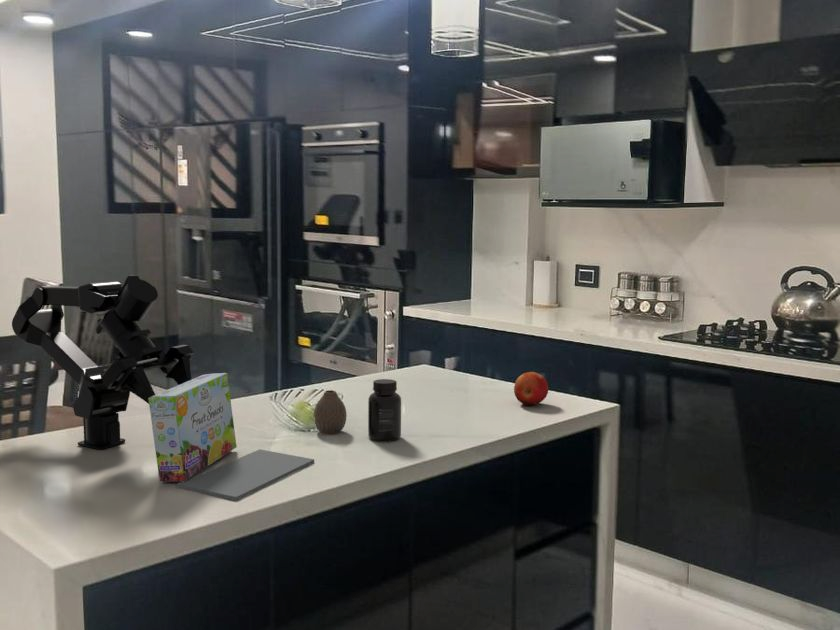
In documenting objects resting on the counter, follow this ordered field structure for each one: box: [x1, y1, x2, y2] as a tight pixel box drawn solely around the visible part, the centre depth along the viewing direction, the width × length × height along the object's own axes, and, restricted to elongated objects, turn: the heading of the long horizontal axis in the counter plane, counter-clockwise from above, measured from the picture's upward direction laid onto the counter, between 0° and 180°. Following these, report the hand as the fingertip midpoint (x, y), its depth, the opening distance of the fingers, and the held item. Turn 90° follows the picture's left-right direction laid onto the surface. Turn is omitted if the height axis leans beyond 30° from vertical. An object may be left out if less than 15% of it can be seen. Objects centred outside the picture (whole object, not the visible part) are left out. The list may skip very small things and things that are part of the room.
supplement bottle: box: [367, 378, 402, 443], centre depth 174 cm, size 7×7×12 cm
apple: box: [513, 371, 549, 406], centre depth 205 cm, size 8×8×8 cm
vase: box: [313, 390, 347, 435], centre depth 178 cm, size 7×7×9 cm
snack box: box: [148, 372, 238, 483], centre depth 153 cm, size 21×6×15 cm, turn 169°
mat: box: [176, 449, 315, 501], centre depth 150 cm, size 12×23×1 cm, turn 154°
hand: (174, 400), depth 155 cm, fingers open, 9 cm apart
